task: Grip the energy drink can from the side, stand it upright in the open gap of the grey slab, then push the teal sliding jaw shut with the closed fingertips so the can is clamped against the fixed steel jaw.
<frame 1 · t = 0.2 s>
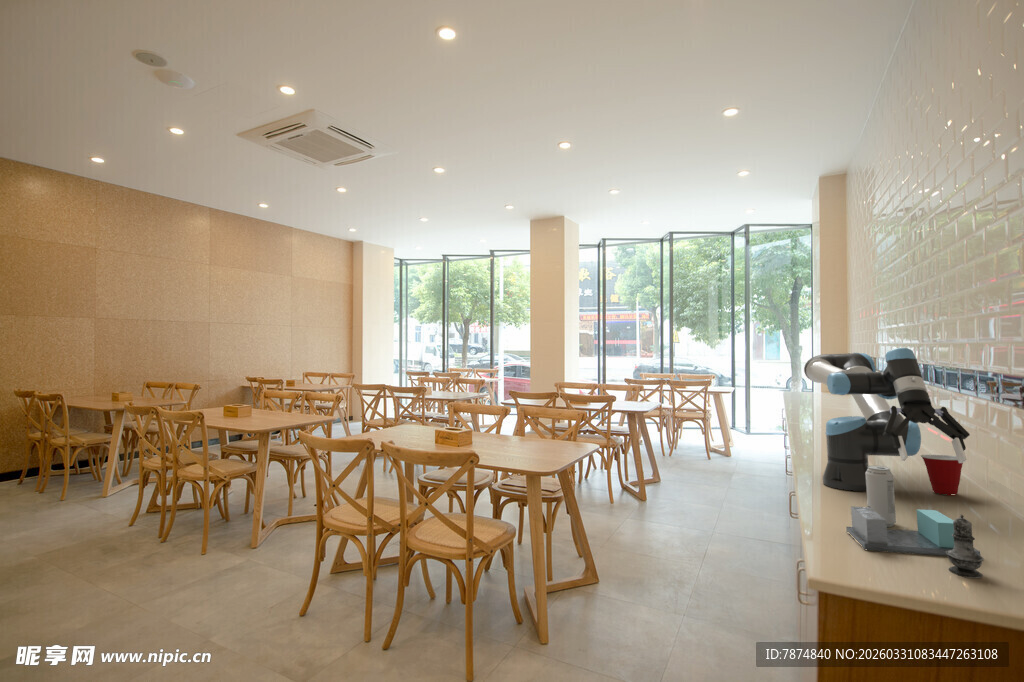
hand: (933, 460, 140), 15 cm above the counter, tool tilted 35°, fingers open, 13 cm apart
energy drink can: (882, 524, 133), on the counter
sliding jaw: (937, 527, 117), point 4 cm above the counter, slide at 0.0 cm
grey slab: (908, 544, 119), on the counter
salt shaker: (965, 573, 103), on the counter
plastic cup: (944, 493, 159), on the counter
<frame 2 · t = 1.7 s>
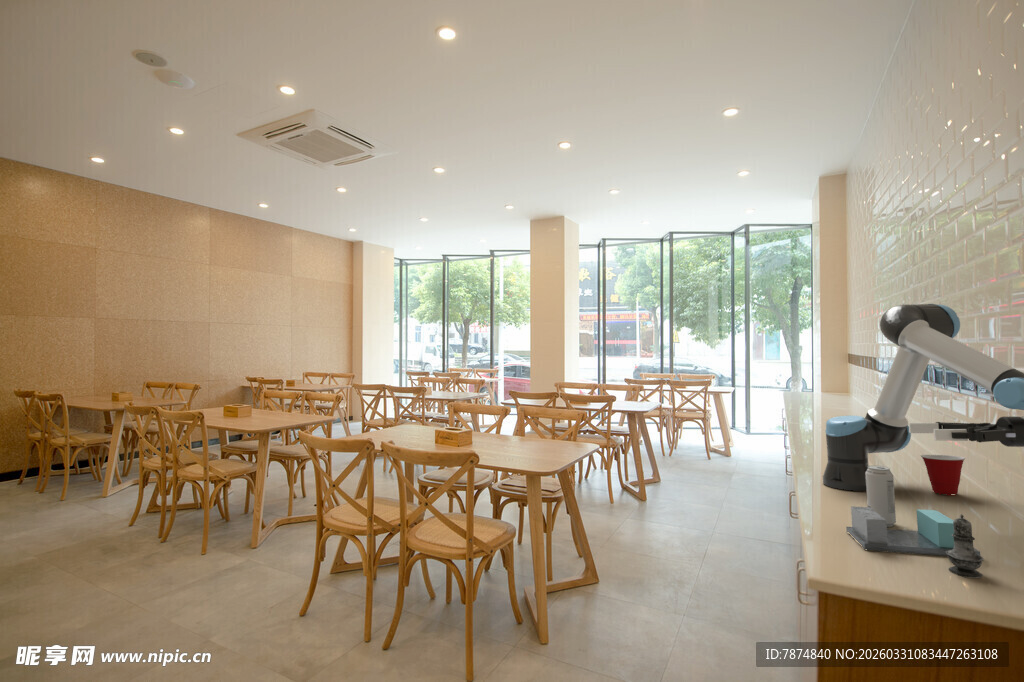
hand: (921, 431, 131), 25 cm above the counter, tool horizontal, fingers open, 13 cm apart
nothing on the counter moved.
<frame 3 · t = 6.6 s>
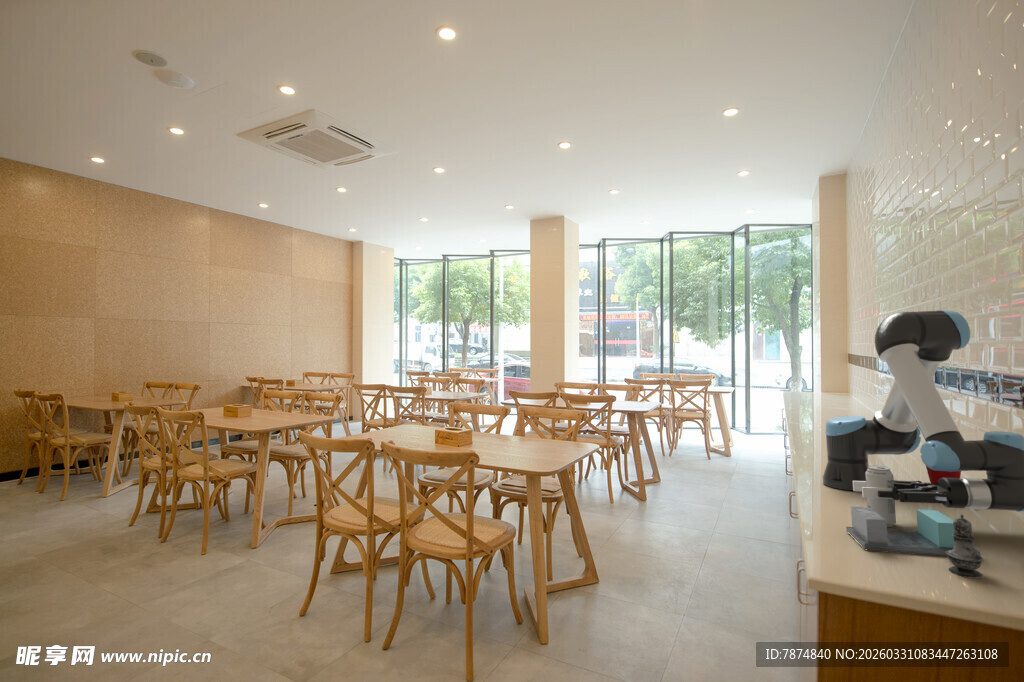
hand: (858, 489, 135), 9 cm above the counter, tool horizontal, fingers closed on energy drink can, 6 cm apart
energy drink can: (882, 524, 133), on the counter, touching gripper
everything else where it was.
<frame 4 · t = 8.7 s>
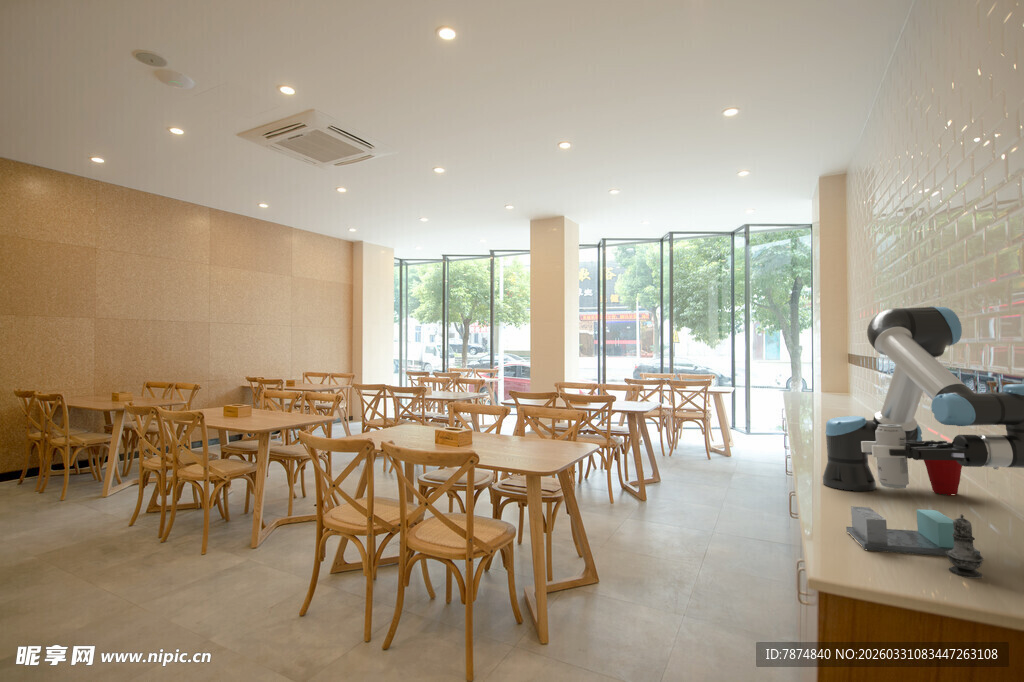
hand: (867, 448, 125), 22 cm above the counter, tool horizontal, fingers closed on energy drink can, 6 cm apart
energy drink can: (893, 486, 123), point 13 cm above the counter, touching gripper
everything else where it was.
when the fingers open (12 cm above the counter, at t = 11.0 s): energy drink can drops 1 cm, resting on grey slab.
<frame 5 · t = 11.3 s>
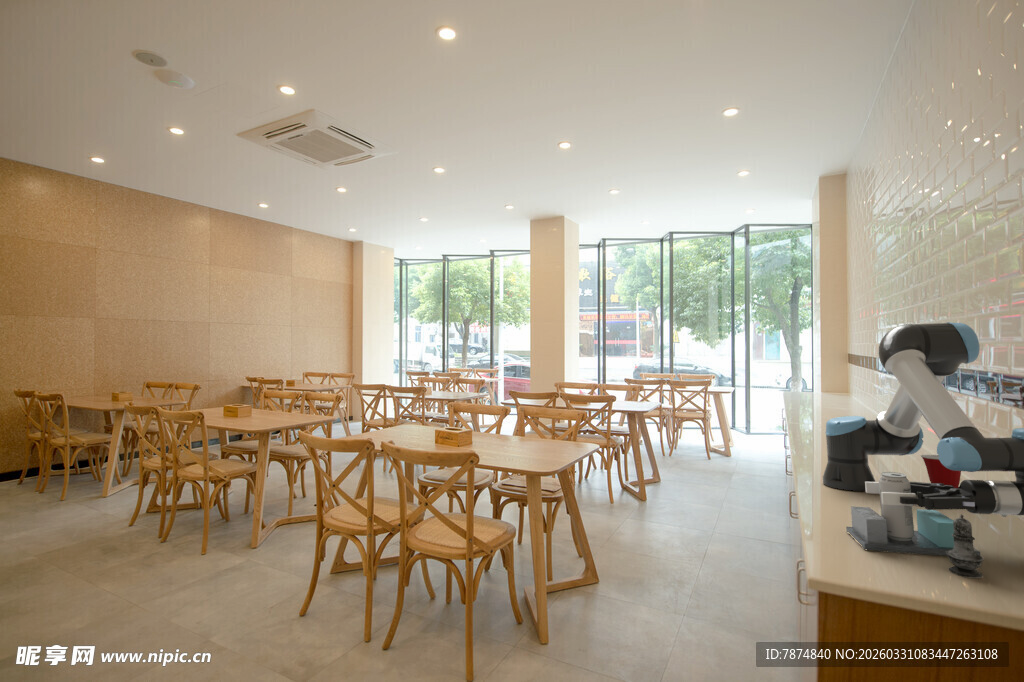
hand: (873, 492, 121), 12 cm above the counter, tool horizontal, fingers open, 9 cm apart
energy drink can: (898, 538, 119), point 1 cm above the counter, touching grey slab
everything else where it was.
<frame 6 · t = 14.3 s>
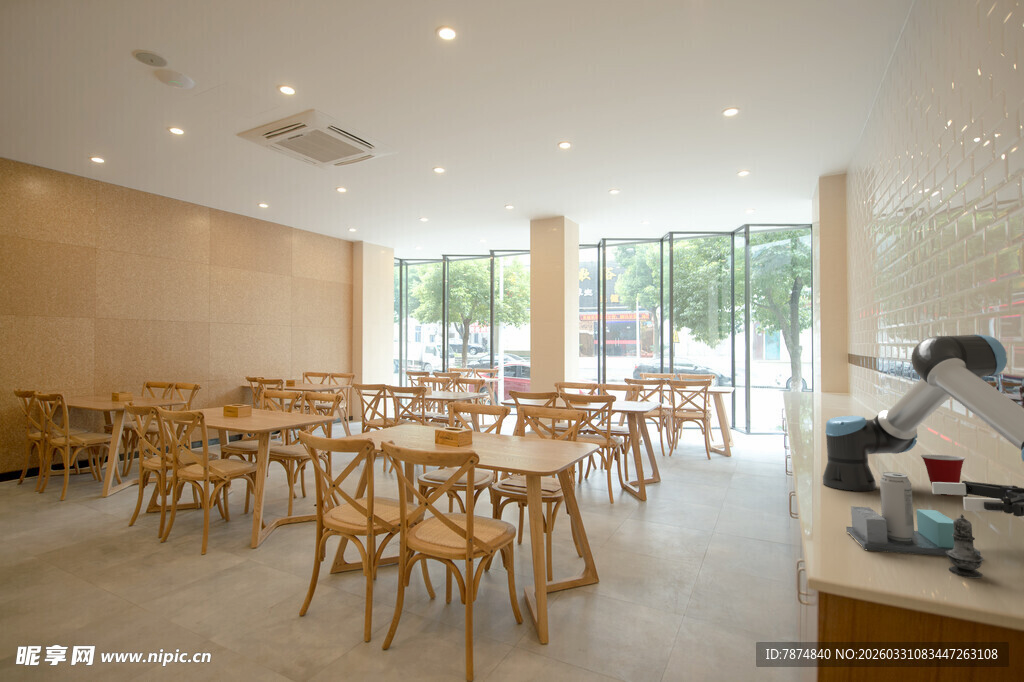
hand: (947, 495, 116), 12 cm above the counter, tool horizontal, fingers open, 13 cm apart
nothing on the counter moved.
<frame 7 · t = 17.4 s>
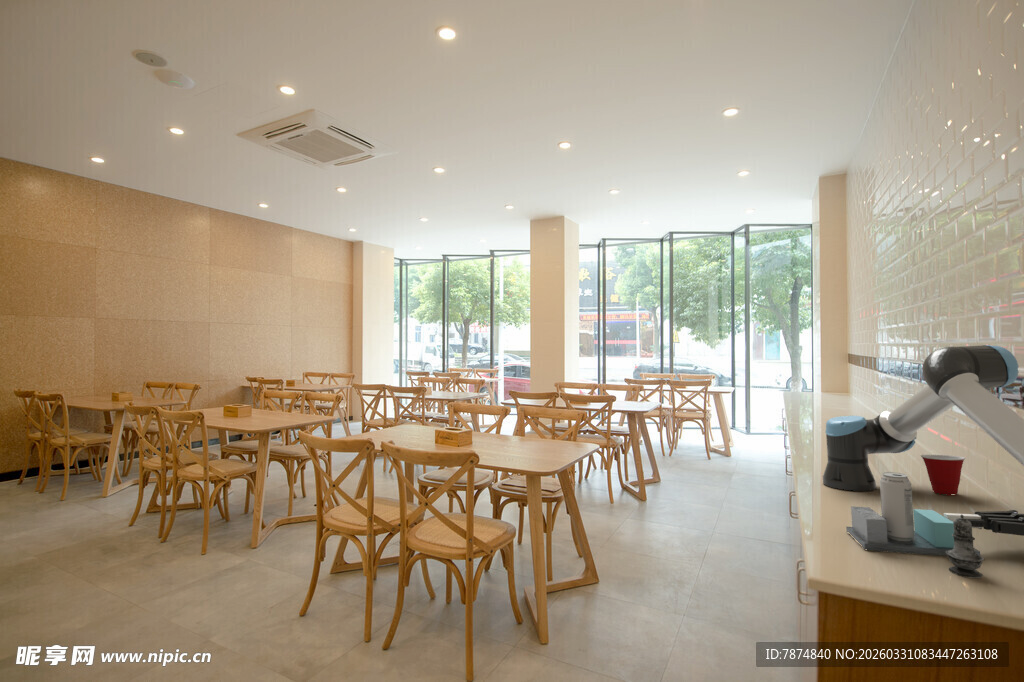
hand: (945, 519, 116), 6 cm above the counter, tool horizontal, fingers closed
sliding jaw: (934, 527, 117), point 4 cm above the counter, slide at 0.7 cm, touching gripper
everything else where it was.
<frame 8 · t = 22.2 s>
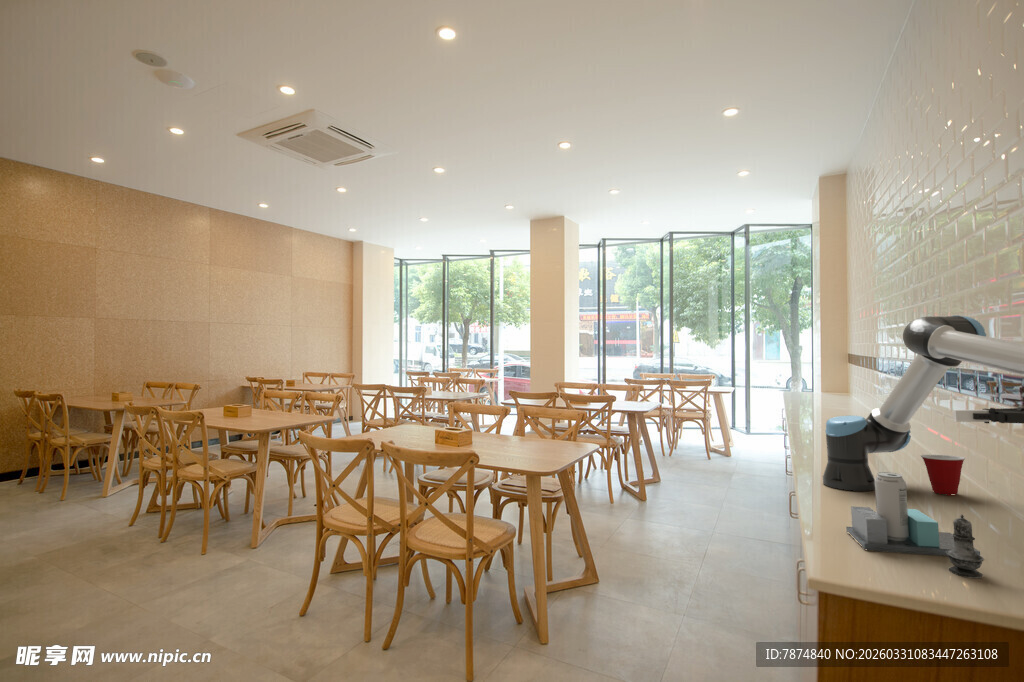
hand: (954, 415, 121), 30 cm above the counter, tool horizontal, fingers closed
energy drink can: (893, 537, 119), point 1 cm above the counter, touching grey slab
sliding jaw: (917, 526, 118), point 4 cm above the counter, slide at 4.0 cm
everything else where it was.
at the end: sliding jaw slide at 4.0 cm; energy drink can 0.5 cm from the target spot on the grey slab, point 1.3 cm above the grey slab's base; energy drink can tilted 0° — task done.
